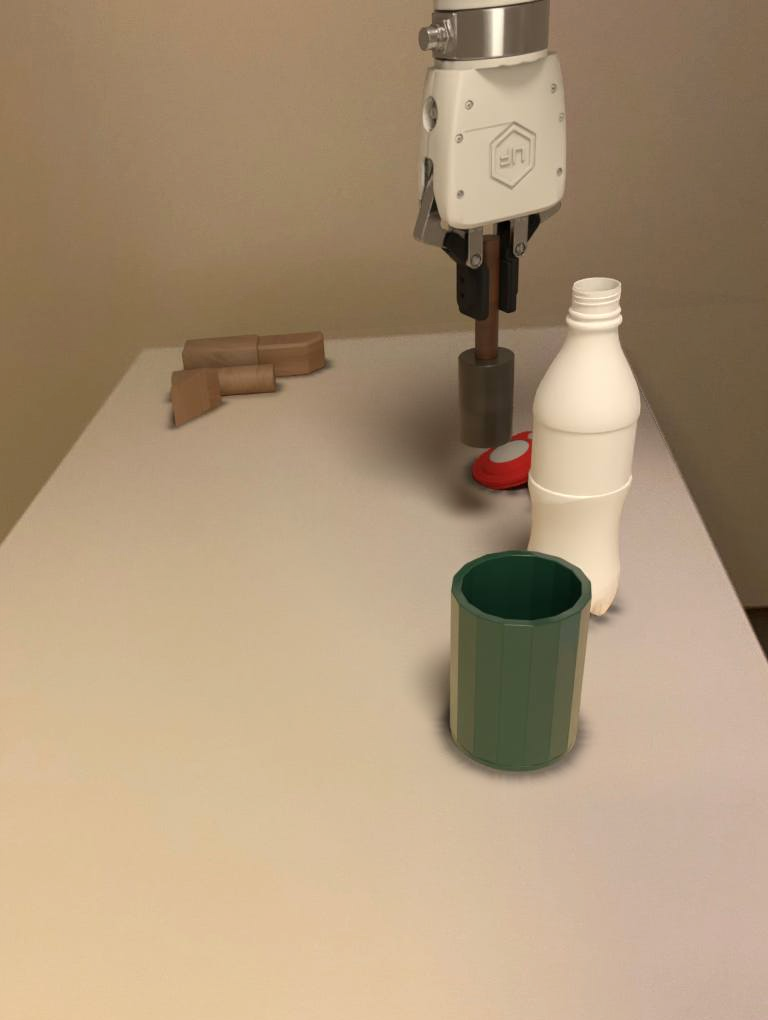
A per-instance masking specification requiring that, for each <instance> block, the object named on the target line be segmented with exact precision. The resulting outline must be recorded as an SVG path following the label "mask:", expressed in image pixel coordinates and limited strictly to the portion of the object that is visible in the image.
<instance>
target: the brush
mask: <svg viewBox="0 0 768 1020" xmlns="http://www.w3.org/2000/svg"><path fill="white" fill-rule="evenodd" d="M482 265H485V266H487V267H488V268H489V316H488V317H487V319H486V320H483V321H478V320H475V319H474V347H471V348H468V349H465V350H463V351H462V352H461V353H459V355H458V356H457V357H458V358H457V366H458V367H457V368H458V369H457V371H458V373H457V374H458V375H457V376H458V377H457V378H458V379H457V383H458V386H457V387H458V391H457V393H458V395H457V396H458V397H457V399H458V402H457V403H458V440H459V442H460V443H461V444H462V445H464V446H467V447H468V448H474V449H490V448H495V447H499V446H502V445H505V444H507V443H508V442H509V441H510V440H511V439H512V436H513V433H514V432H513V429H514V427H513V425H514V397H515V396H514V394H515V392H514V391H515V364H516V363H515V362H516V361H515V359H516V356H515V355H516V354H515V353H514V351H513V350H512V349H510V348H507V347H504V346H499V321H500V310H499V277H500V236H499V235H494V234H493V233H490V234H488V233H487V234H483V261H482Z"/></svg>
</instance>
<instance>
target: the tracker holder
mask: <svg viewBox="0 0 768 1020" xmlns="http://www.w3.org/2000/svg"><path fill="white" fill-rule="evenodd" d="M532 438H533V430H525V431H521V432H518V433H517V434H514V435H512V439H511V440H510V441H509V442H508V443H507V444H505V445H502V446H499V447H495V448H487V450H486V451H484V452H483V453H481V454H480V455H479V456H478V457H477V459H476V460H475V462H473V465H472V467H471V468H472V469H471V471H472V472H471V473H472V477H473V479H474V480H475V481H476V482H477V483H479V484H480V485H482V486H483V487H485V488H488V489H492V490H503V489H510V488H514V487H518V486H520V485H523V484H526V483H528V475H529V470H530V468H531V455H532Z"/></svg>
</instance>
